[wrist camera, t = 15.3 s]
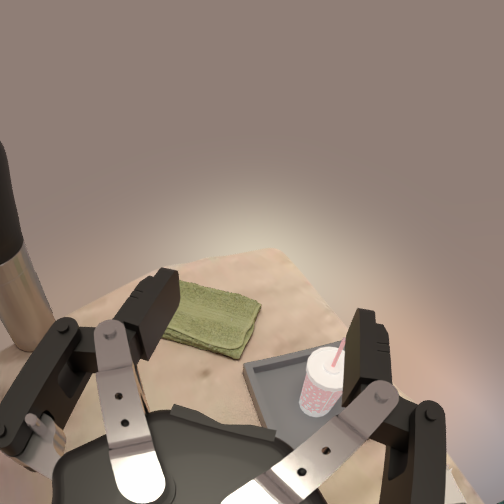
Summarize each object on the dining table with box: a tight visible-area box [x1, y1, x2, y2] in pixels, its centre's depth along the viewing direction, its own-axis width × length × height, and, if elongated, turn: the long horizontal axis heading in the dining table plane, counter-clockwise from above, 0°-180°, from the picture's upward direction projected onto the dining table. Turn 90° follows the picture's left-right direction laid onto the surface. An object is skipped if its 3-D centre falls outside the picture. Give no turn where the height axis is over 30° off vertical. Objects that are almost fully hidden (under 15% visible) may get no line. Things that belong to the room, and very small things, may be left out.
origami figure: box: [445, 465, 467, 504], centre depth 26 cm, size 12×8×5 cm
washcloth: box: [162, 280, 262, 359], centre depth 52 cm, size 13×18×3 cm
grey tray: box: [243, 340, 370, 450], centre depth 40 cm, size 16×16×2 cm
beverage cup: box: [299, 338, 346, 417], centre depth 36 cm, size 6×6×14 cm
